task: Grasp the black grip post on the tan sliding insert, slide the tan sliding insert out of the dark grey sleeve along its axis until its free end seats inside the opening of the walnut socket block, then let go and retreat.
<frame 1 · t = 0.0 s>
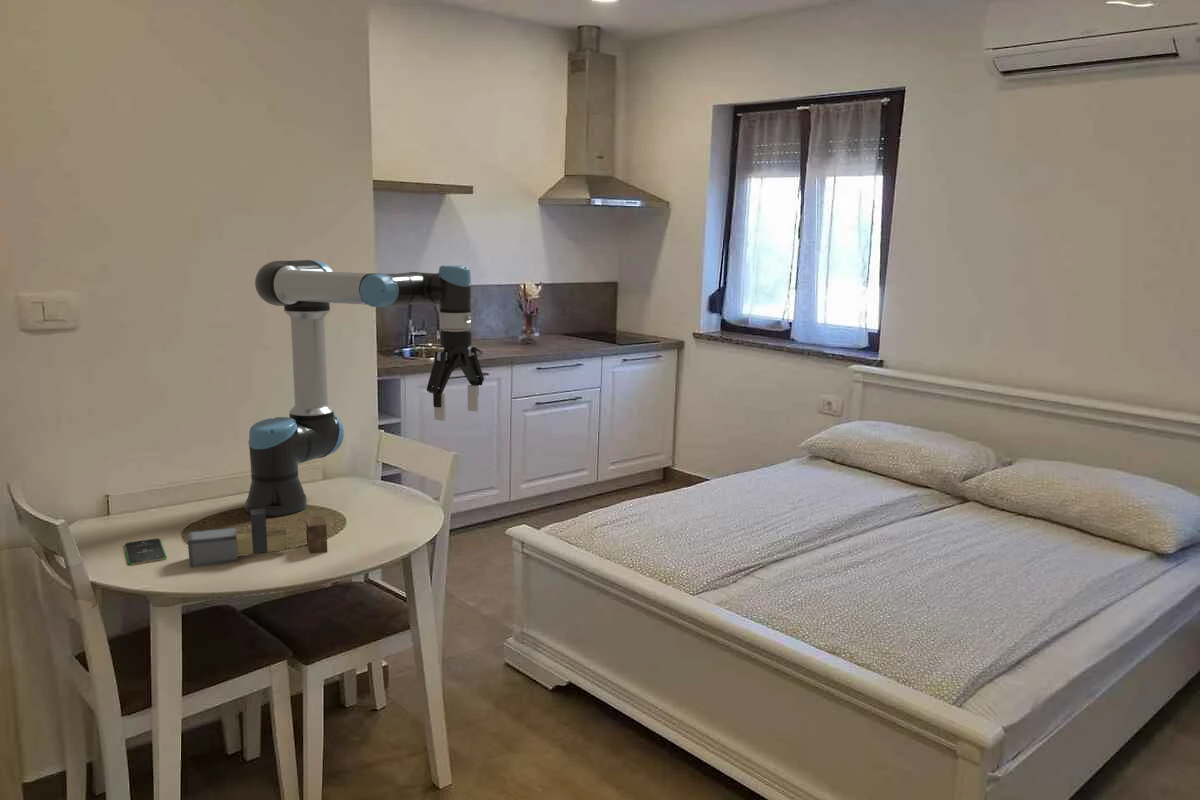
hand: (456, 415, 212), 28 cm above the table, fingers open, 13 cm apart
black processor chip: (145, 554, 194), on the table
socket block: (316, 534, 198), on the table
outer sleeve: (213, 547, 190), on the table
tan sliding insert: (241, 532, 192), point 6 cm above the table, slide at 0.0 cm
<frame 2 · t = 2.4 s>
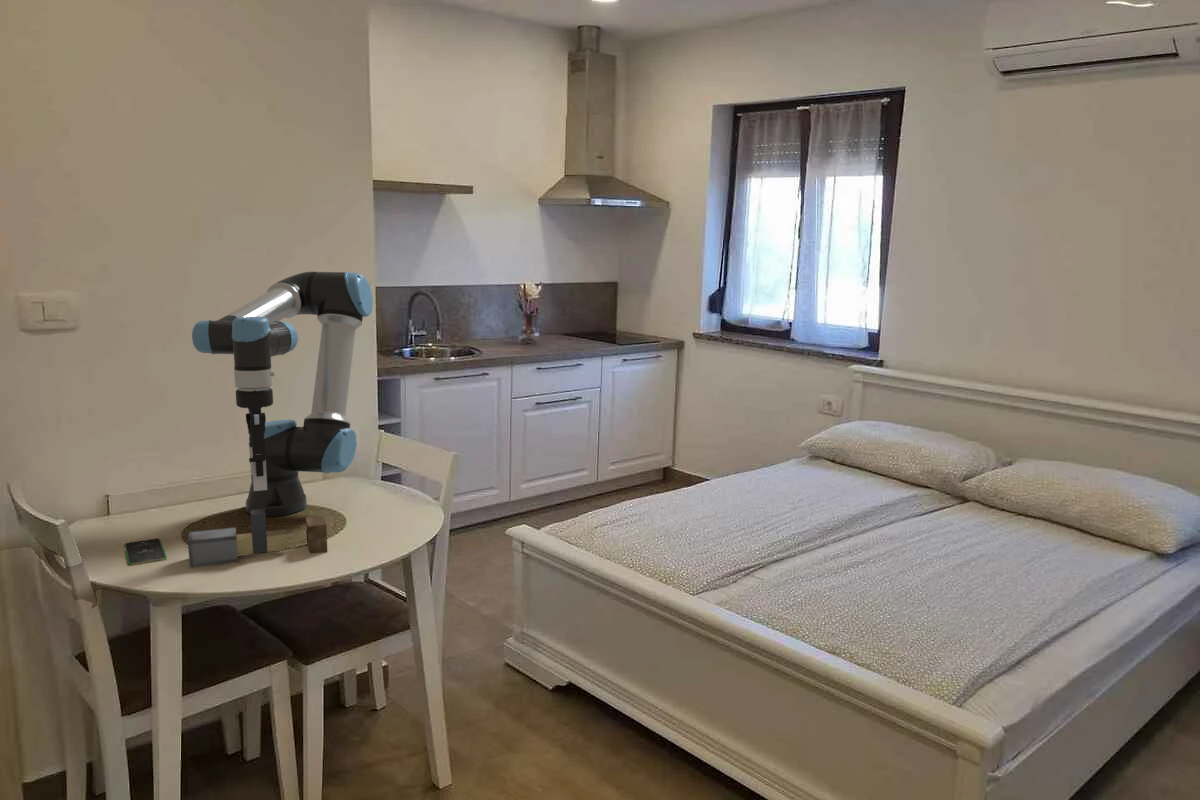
hand: (259, 482, 191), 17 cm above the table, fingers open, 13 cm apart
nothing on the table moved.
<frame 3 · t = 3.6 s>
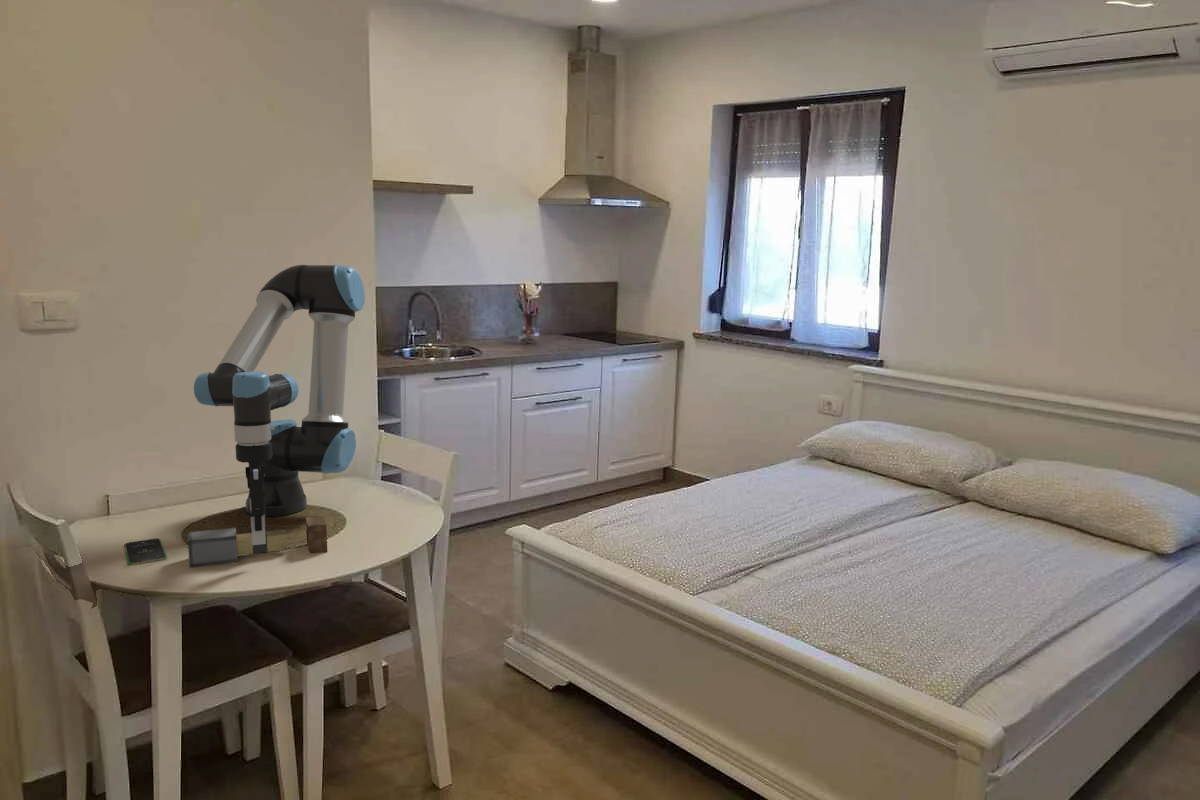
hand: (258, 534, 193), 5 cm above the table, fingers open, 13 cm apart
nothing on the table moved.
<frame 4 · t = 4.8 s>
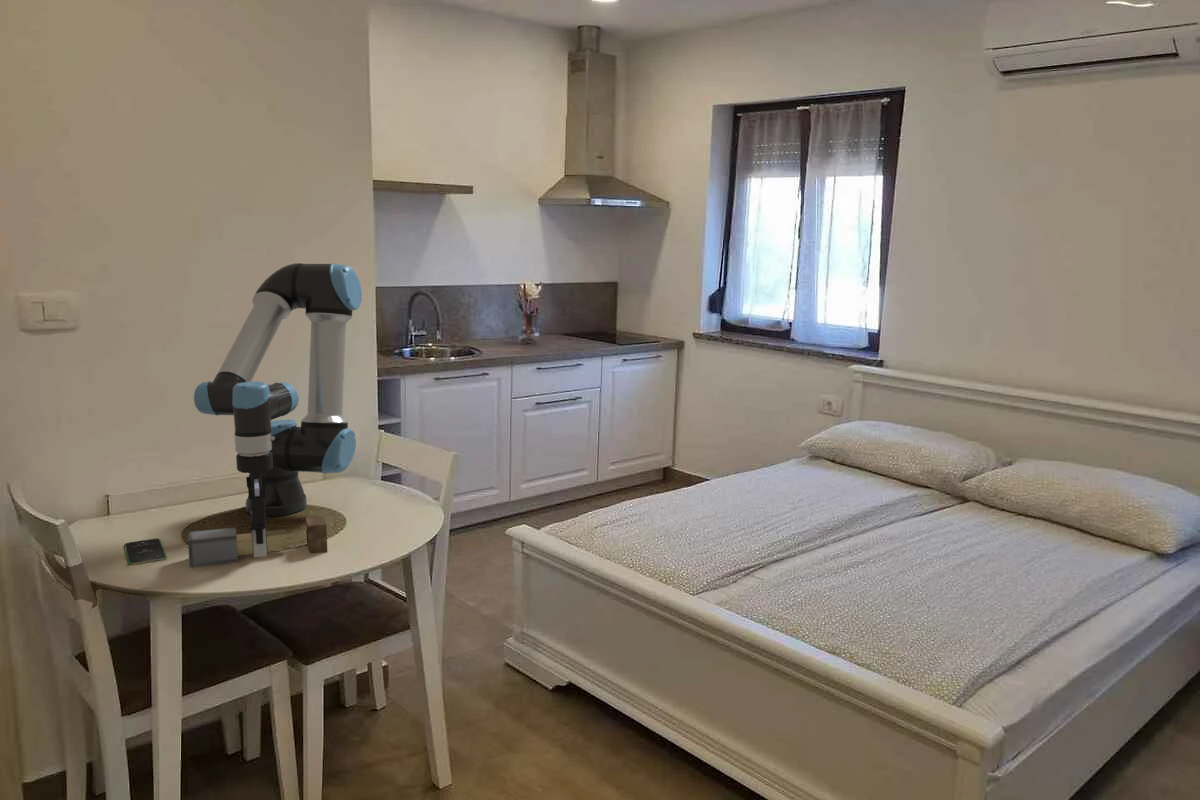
hand: (260, 552, 194), 0 cm above the table, fingers closed on tan sliding insert, 4 cm apart
tan sliding insert: (241, 532, 192), point 6 cm above the table, slide at 0.0 cm, touching gripper
everything else where it was.
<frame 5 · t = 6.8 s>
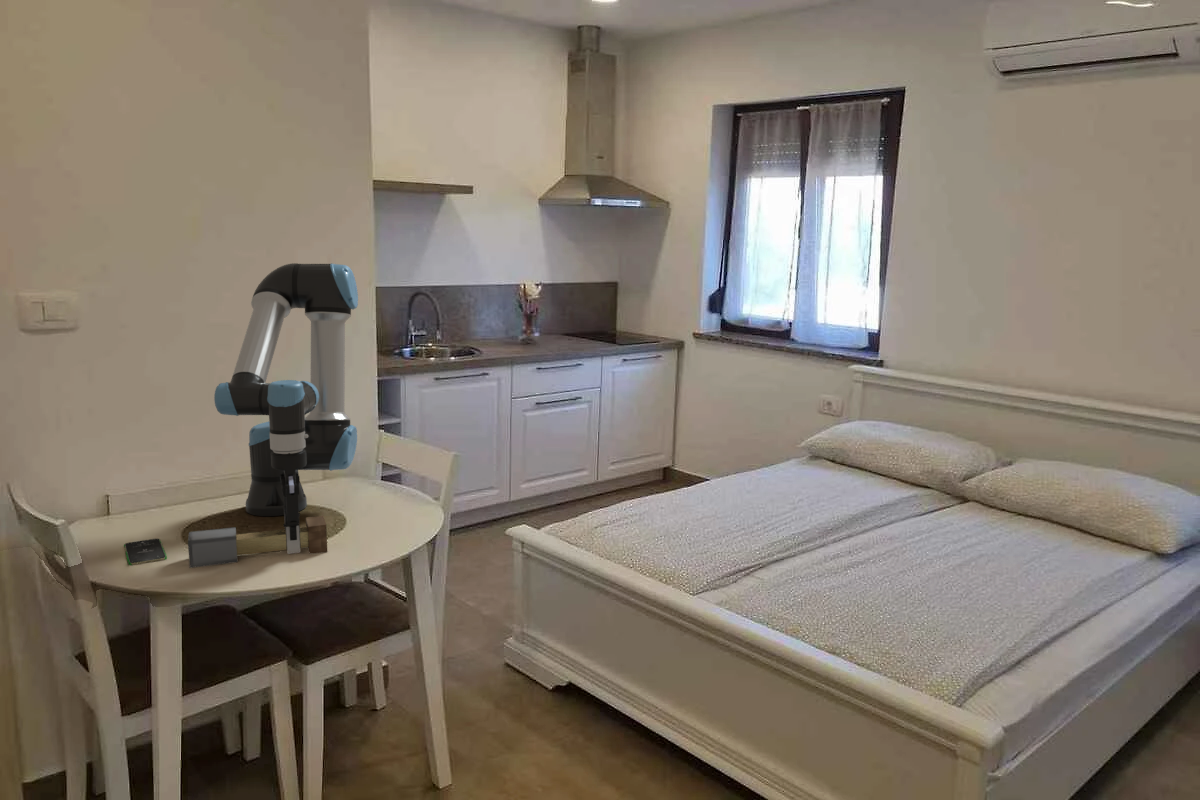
hand: (293, 548, 197), 0 cm above the table, fingers closed on tan sliding insert, 4 cm apart
tan sliding insert: (275, 529, 194), point 6 cm above the table, slide at 7.1 cm, touching gripper
everything else where it was.
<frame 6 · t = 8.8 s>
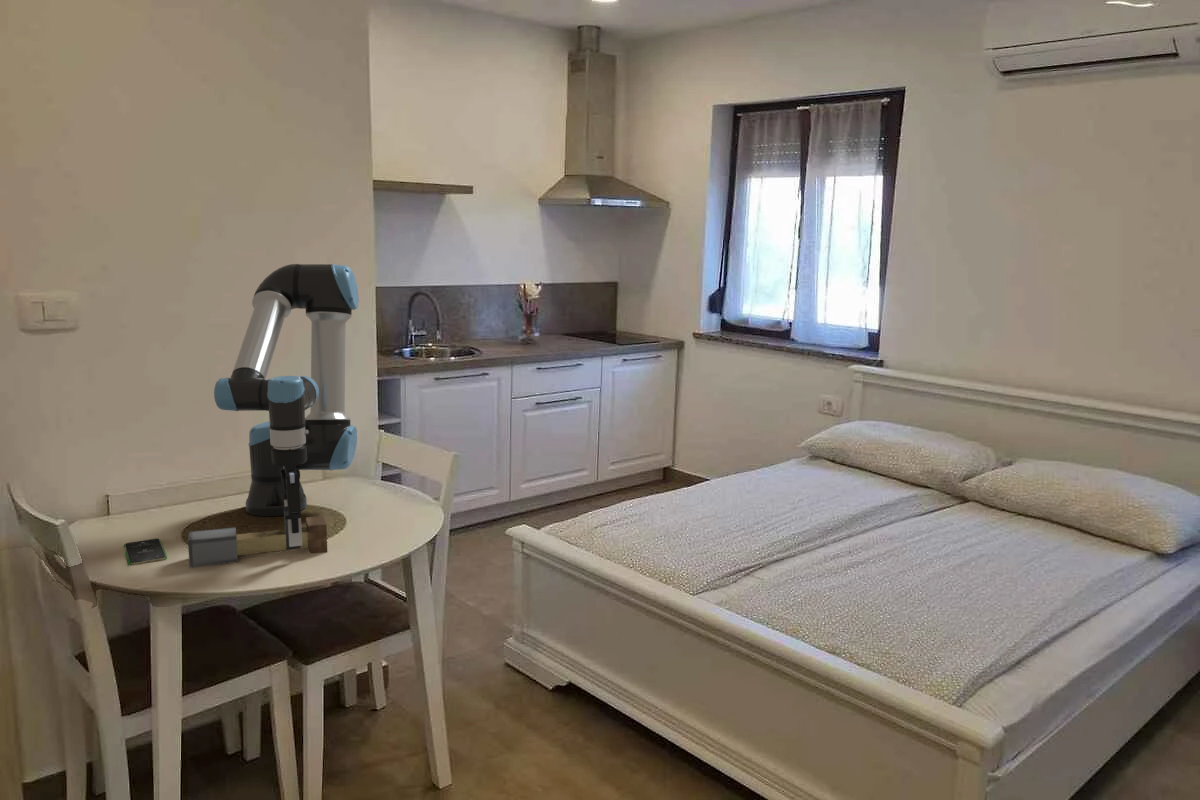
hand: (293, 535, 196), 3 cm above the table, fingers open, 13 cm apart
tan sliding insert: (275, 529, 194), point 6 cm above the table, slide at 7.0 cm
everything else where it was.
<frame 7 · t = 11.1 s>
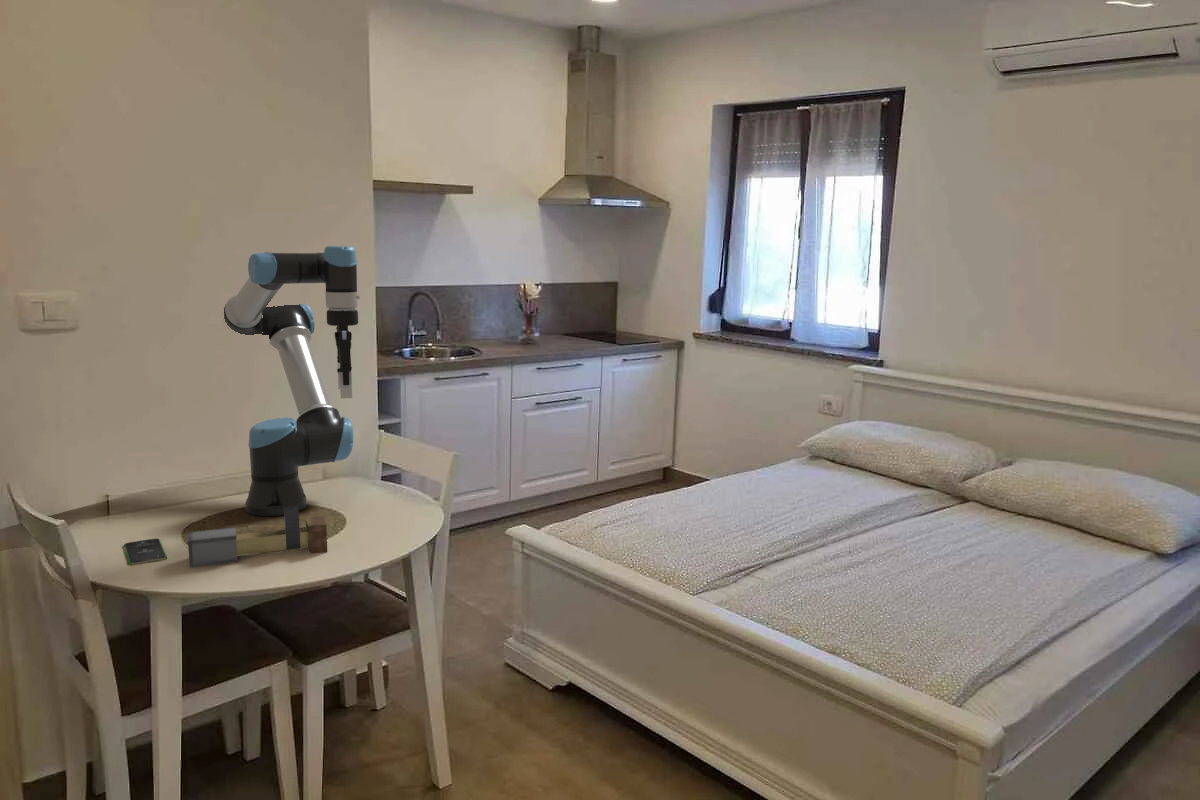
hand: (345, 393, 217), 32 cm above the table, fingers open, 13 cm apart
nothing on the table moved.
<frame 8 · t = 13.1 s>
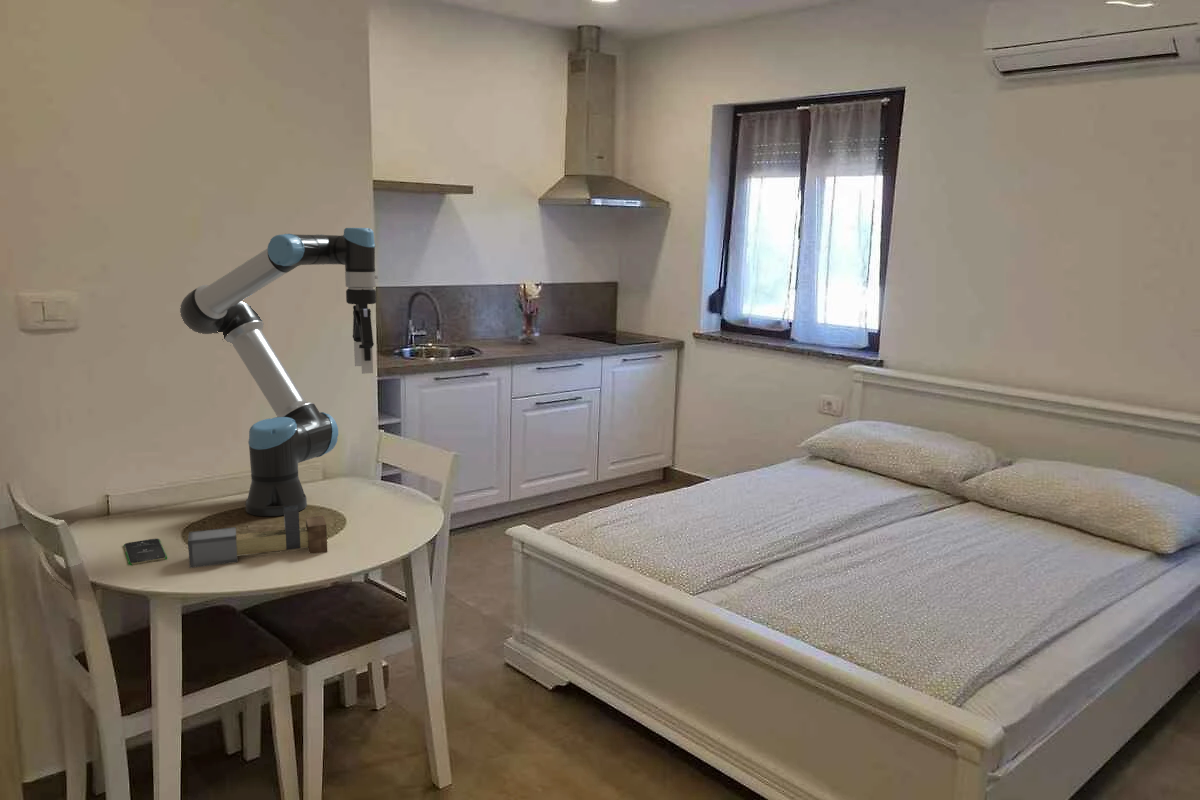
hand: (363, 369, 226), 37 cm above the table, fingers open, 13 cm apart
nothing on the table moved.
at the end: tan sliding insert slide at 7.0 cm; the gripper is holding nothing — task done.
